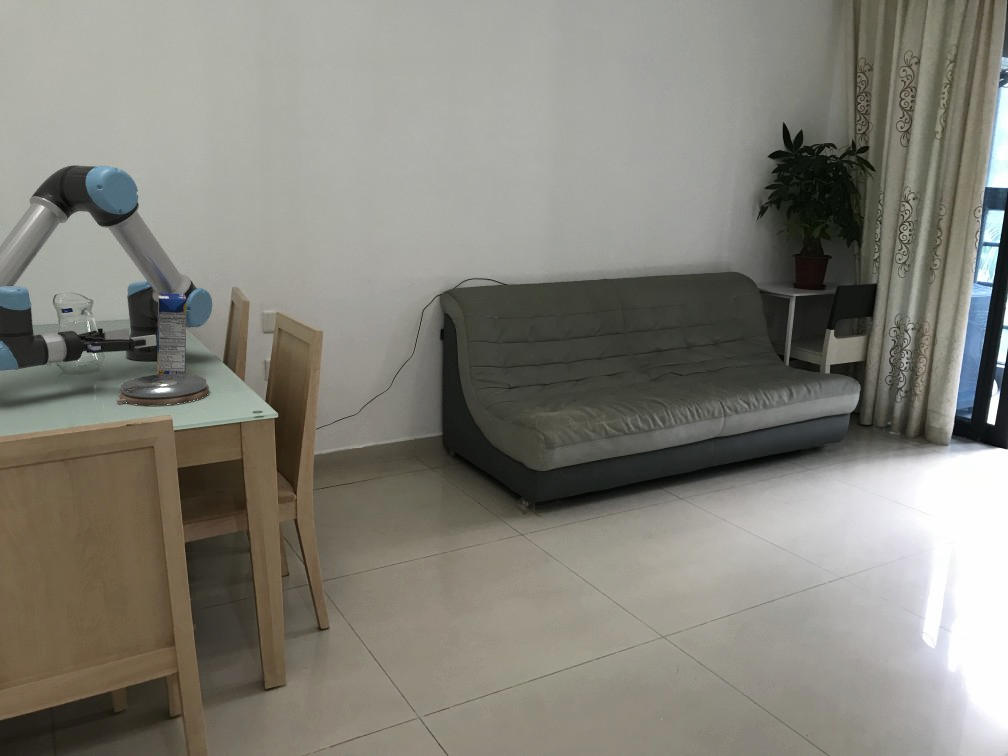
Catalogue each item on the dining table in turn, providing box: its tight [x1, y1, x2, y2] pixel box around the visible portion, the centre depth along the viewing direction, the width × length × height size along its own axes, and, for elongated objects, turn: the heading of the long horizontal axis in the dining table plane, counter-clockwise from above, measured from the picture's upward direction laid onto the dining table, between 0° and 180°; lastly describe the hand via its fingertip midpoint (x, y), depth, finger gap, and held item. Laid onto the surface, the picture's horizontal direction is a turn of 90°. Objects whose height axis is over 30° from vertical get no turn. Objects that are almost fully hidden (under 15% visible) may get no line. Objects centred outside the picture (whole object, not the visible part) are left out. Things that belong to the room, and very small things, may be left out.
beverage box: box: [156, 293, 187, 375], centre depth 223 cm, size 7×11×22 cm, turn 23°
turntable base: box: [116, 384, 210, 406], centre depth 205 cm, size 23×21×2 cm
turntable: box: [120, 373, 208, 399], centre depth 205 cm, size 20×20×2 cm
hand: (141, 336), depth 217 cm, fingers open, 13 cm apart
